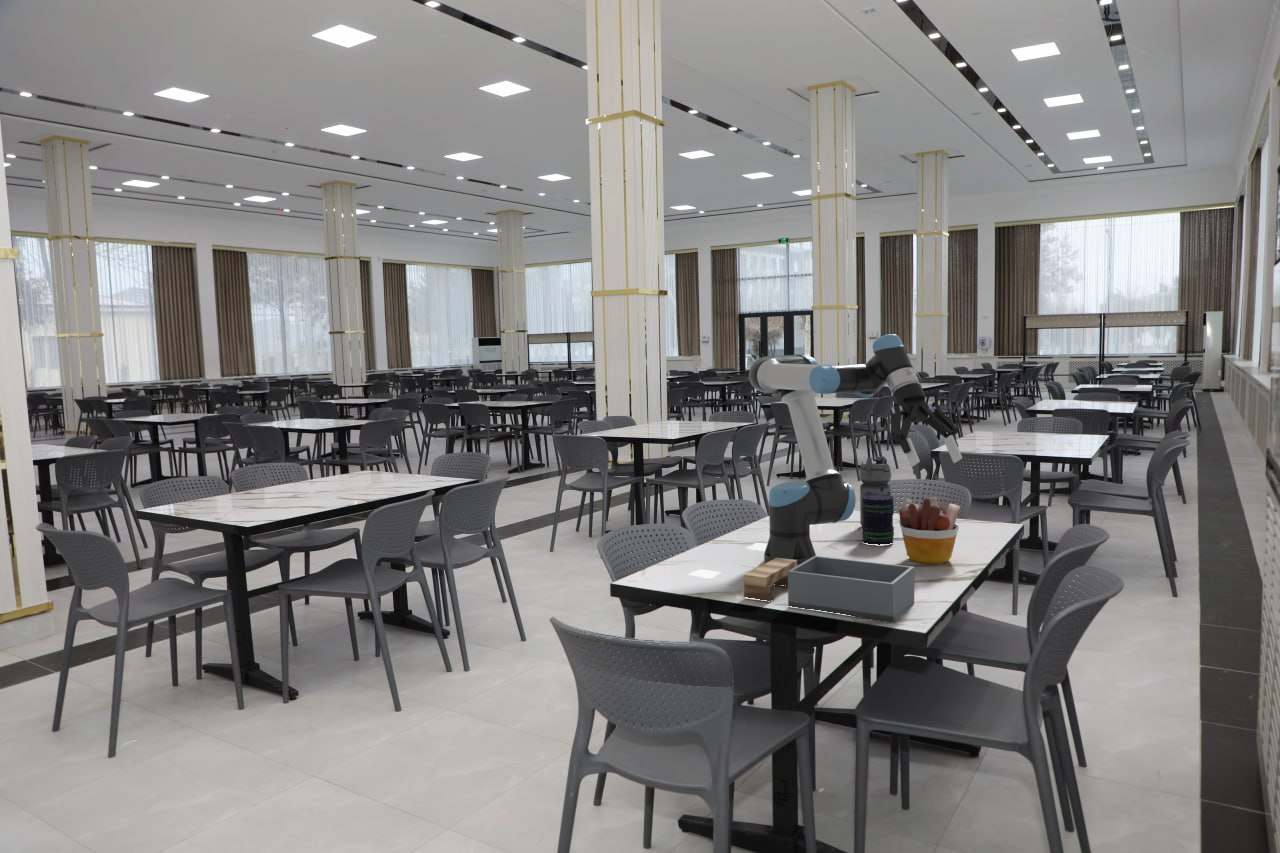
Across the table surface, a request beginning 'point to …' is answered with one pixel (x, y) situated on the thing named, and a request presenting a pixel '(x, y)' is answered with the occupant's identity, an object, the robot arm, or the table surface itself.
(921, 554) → the bucket of meat
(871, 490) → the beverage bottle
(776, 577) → the shelf board
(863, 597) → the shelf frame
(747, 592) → the wooden blocks
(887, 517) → the storage jar
